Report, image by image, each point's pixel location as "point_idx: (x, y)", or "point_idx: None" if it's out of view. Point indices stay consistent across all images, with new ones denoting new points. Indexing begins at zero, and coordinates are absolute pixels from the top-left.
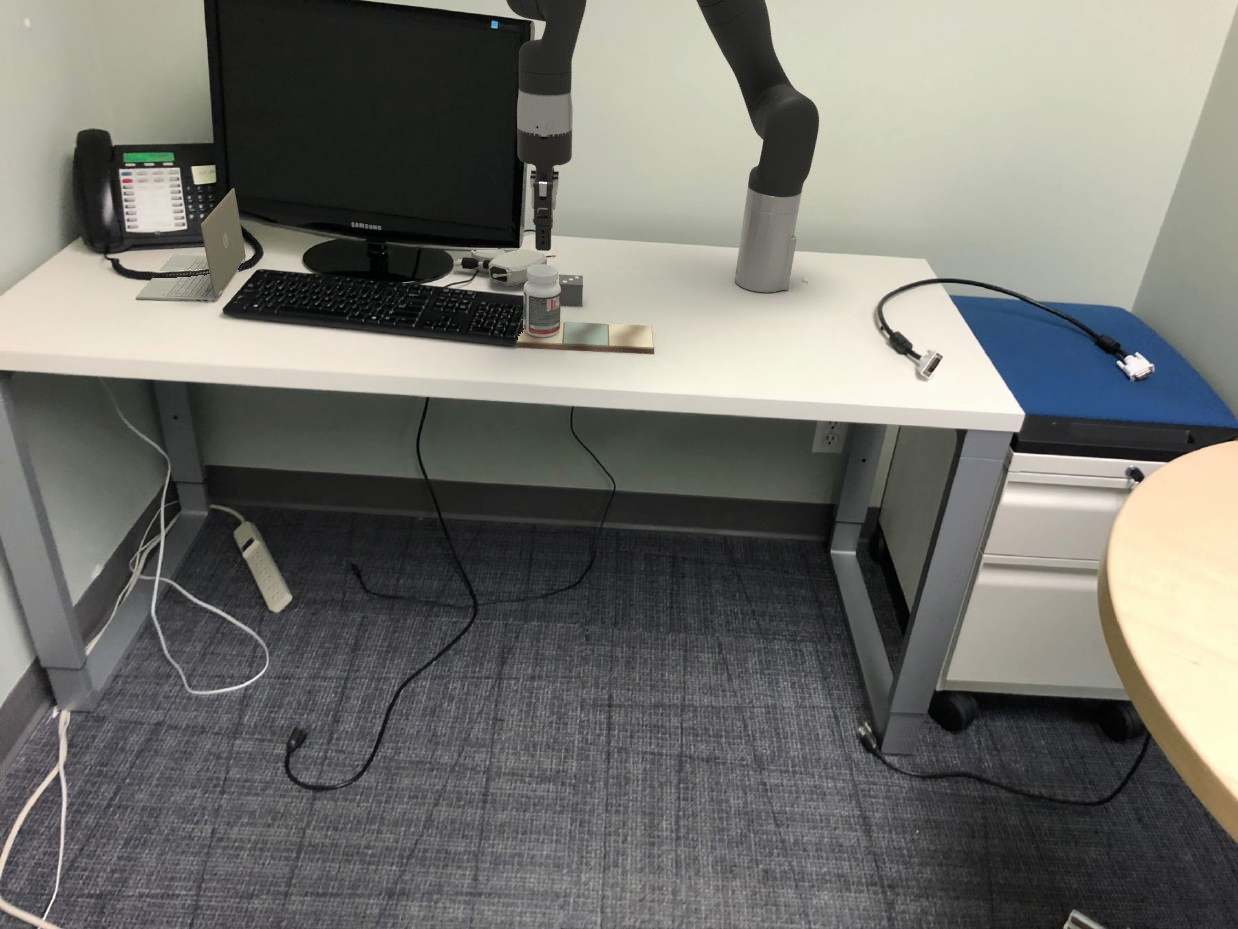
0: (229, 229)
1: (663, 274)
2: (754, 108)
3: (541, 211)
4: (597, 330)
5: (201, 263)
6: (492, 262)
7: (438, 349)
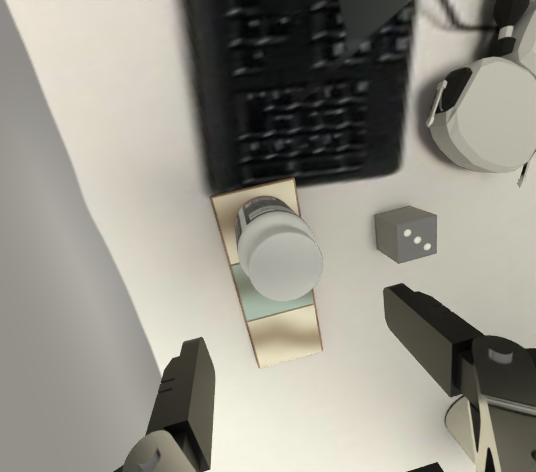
0: None
1: (493, 318)
2: None
3: (428, 335)
4: None
5: None
6: (485, 66)
7: (148, 57)
